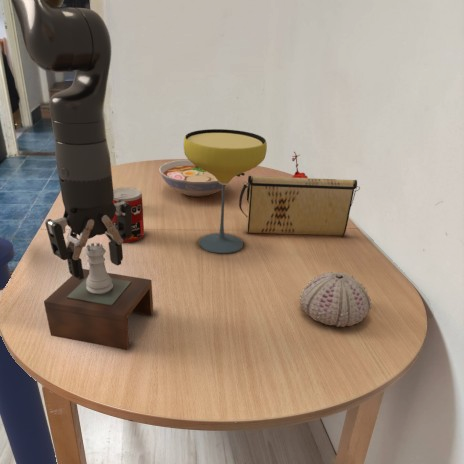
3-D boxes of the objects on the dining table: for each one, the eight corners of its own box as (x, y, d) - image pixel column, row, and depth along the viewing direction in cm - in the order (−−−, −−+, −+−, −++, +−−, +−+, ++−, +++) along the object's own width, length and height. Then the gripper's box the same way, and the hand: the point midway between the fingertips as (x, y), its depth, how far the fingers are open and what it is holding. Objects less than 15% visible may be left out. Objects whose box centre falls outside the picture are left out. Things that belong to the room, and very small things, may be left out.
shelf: (50, 335, 78) (43, 300, 74) (84, 300, 87) (79, 267, 83) (127, 350, 75) (123, 314, 71) (153, 311, 85) (151, 278, 81)
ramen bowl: (143, 188, 142) (141, 162, 137) (200, 176, 155) (200, 152, 151) (192, 213, 127) (192, 185, 122) (250, 197, 140) (252, 171, 136)
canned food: (109, 242, 109) (105, 198, 103) (115, 228, 116) (111, 186, 110) (142, 243, 110) (139, 199, 103) (146, 229, 116) (143, 187, 110)
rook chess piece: (85, 284, 78) (78, 241, 74) (111, 280, 80) (106, 239, 76) (87, 297, 75) (81, 253, 71) (115, 293, 77) (110, 250, 72)
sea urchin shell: (334, 341, 80) (342, 303, 76) (283, 305, 89) (288, 270, 85) (381, 318, 87) (391, 282, 83) (330, 288, 96) (337, 254, 92)
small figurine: (303, 208, 135) (311, 157, 126) (281, 204, 137) (287, 153, 129) (311, 201, 140) (319, 151, 132) (290, 196, 143) (296, 148, 135)
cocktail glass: (270, 241, 114) (282, 138, 100) (231, 268, 101) (237, 154, 87) (212, 223, 122) (215, 125, 108) (169, 245, 109) (166, 137, 95)
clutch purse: (344, 227, 124) (355, 173, 116) (351, 238, 119) (363, 181, 110) (236, 224, 122) (240, 168, 114) (238, 235, 117) (241, 177, 108)
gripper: (111, 157, 73) (120, 250, 82) (25, 173, 64) (45, 276, 73) (140, 168, 69) (146, 265, 78) (52, 187, 60) (71, 294, 69)
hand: (97, 270), depth 75 cm, fingers open, 6 cm apart
